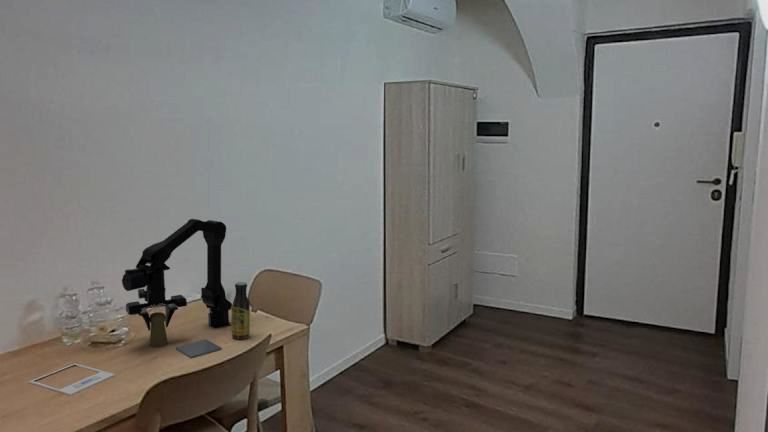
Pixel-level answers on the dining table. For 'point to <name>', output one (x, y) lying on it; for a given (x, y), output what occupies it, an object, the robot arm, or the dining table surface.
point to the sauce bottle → (240, 312)
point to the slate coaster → (198, 348)
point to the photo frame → (80, 384)
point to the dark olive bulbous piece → (158, 330)
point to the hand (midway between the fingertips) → (158, 328)
